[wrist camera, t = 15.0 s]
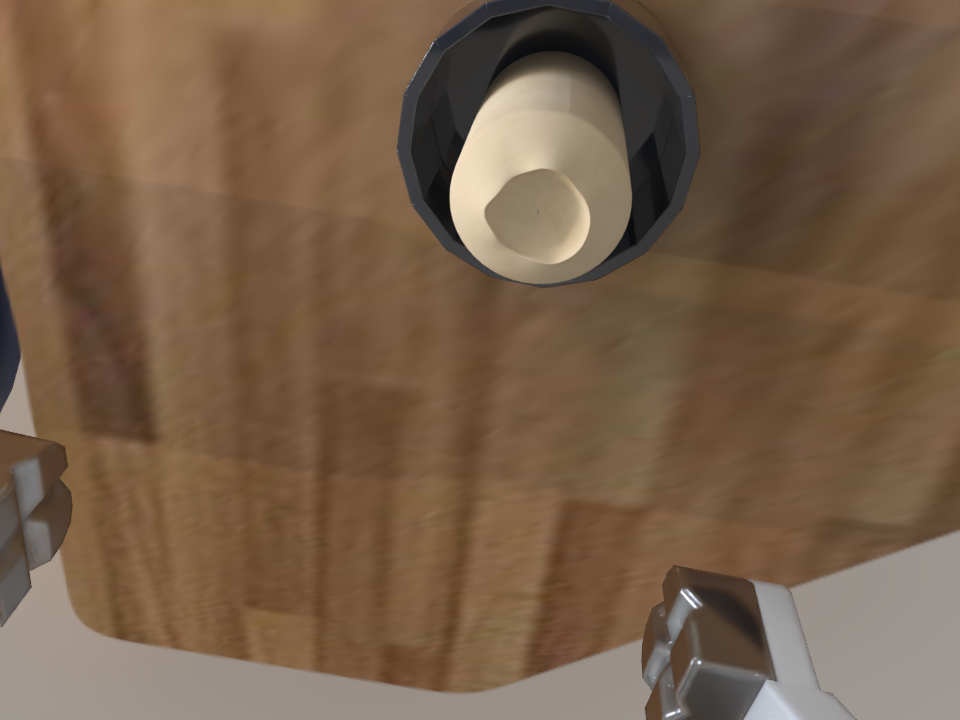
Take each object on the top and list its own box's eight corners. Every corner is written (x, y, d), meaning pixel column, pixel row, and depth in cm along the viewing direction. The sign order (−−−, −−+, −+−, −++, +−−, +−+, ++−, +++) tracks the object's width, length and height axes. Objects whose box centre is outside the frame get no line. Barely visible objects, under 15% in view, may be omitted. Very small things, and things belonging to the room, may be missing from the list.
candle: (464, 167, 34) (423, 275, 25) (502, 29, 31) (470, 99, 23) (594, 207, 34) (595, 327, 26) (644, 74, 31) (664, 160, 23)
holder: (407, 206, 36) (383, 255, 31) (443, -55, 30) (419, -39, 26) (642, 255, 36) (650, 310, 31) (719, 1, 30) (741, 27, 26)
